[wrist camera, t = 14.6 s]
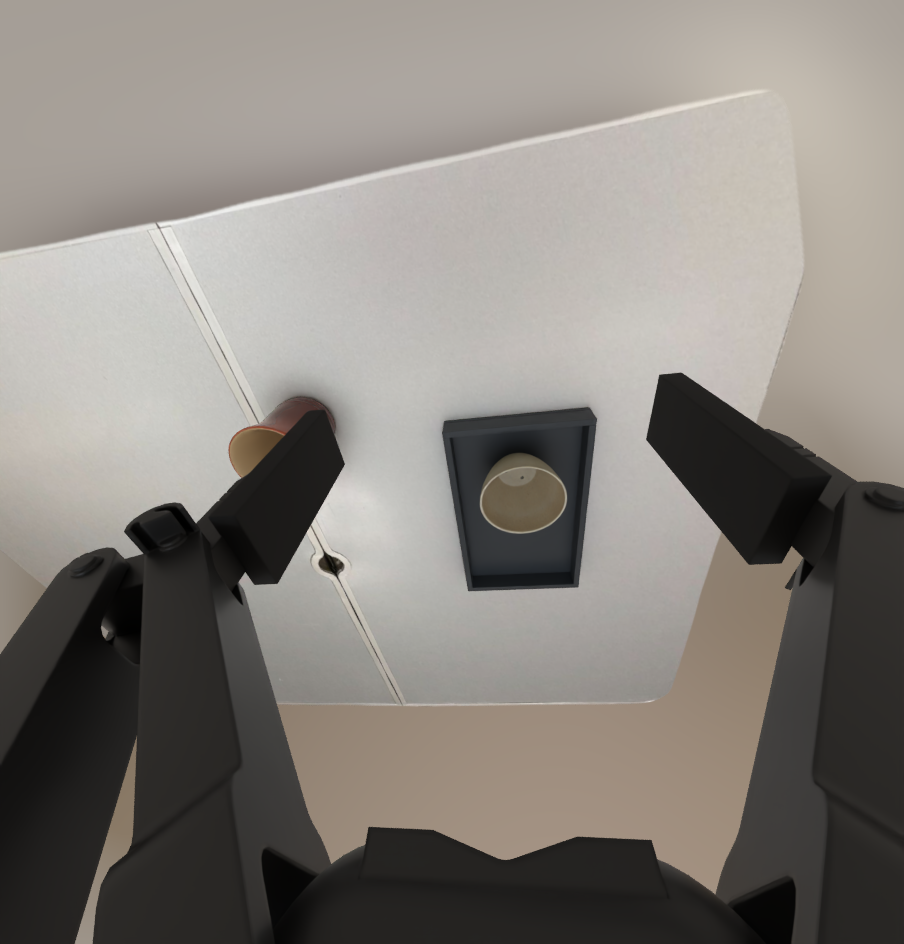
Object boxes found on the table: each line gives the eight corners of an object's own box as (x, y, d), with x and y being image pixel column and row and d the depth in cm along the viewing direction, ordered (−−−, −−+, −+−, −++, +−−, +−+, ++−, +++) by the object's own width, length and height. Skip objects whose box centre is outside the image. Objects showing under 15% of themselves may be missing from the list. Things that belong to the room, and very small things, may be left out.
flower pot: (514, 509, 51) (519, 546, 45) (463, 468, 47) (462, 502, 41) (571, 468, 46) (585, 503, 40) (520, 420, 43) (527, 450, 37)
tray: (444, 420, 44) (442, 432, 41) (589, 407, 42) (597, 418, 39) (468, 576, 60) (468, 591, 58) (573, 571, 58) (578, 587, 56)
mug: (261, 398, 44) (209, 439, 35) (322, 379, 42) (283, 416, 33) (311, 475, 50) (277, 524, 41) (366, 461, 48) (342, 510, 39)
